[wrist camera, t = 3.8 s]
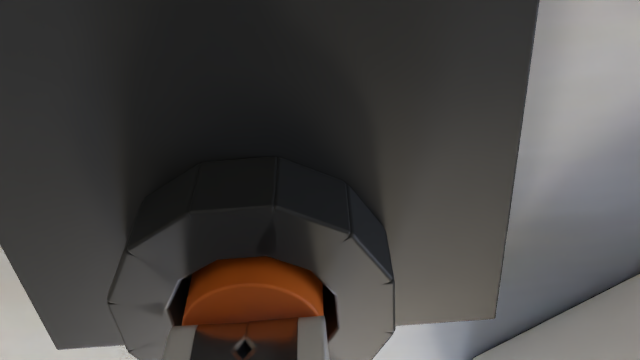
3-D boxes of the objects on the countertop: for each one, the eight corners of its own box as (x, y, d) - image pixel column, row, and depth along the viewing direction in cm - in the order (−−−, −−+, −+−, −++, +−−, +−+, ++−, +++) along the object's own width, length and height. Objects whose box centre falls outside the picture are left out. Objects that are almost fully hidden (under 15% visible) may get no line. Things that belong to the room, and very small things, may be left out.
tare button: (182, 228, 12) (166, 290, 11) (316, 217, 12) (318, 279, 11) (208, 318, 14) (196, 383, 12) (326, 309, 14) (329, 373, 12)
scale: (-273, -412, 8) (-534, -483, 5) (570, -507, 7) (699, -632, 5) (78, 316, 16) (38, 416, 14) (480, 287, 16) (512, 384, 13)
